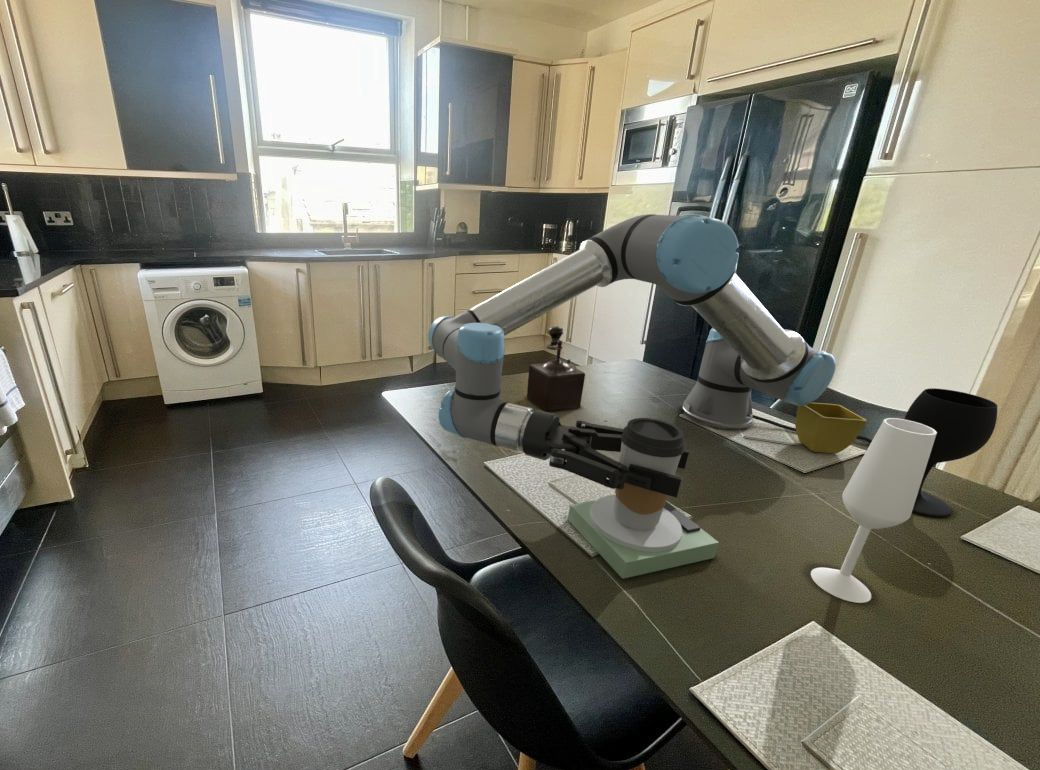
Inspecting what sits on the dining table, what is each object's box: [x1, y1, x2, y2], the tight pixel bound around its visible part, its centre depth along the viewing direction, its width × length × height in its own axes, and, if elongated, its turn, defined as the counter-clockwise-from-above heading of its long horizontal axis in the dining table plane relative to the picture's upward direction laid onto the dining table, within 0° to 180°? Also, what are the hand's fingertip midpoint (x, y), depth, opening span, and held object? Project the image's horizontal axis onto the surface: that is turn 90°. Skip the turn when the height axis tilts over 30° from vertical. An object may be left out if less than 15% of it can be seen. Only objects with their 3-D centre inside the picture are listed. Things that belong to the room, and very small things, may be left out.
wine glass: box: [904, 387, 998, 518], centre depth 83 cm, size 10×10×20 cm
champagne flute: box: [810, 417, 937, 604], centre depth 62 cm, size 7×7×24 cm
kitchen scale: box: [567, 494, 720, 580], centre depth 74 cm, size 16×14×4 cm
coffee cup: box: [613, 417, 686, 531], centre depth 70 cm, size 8×8×15 cm
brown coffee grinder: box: [526, 325, 586, 413], centre depth 124 cm, size 16×11×18 cm
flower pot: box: [794, 402, 868, 454], centre depth 104 cm, size 9×9×9 cm
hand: (683, 473), depth 67 cm, fingers closed on coffee cup, 8 cm apart
